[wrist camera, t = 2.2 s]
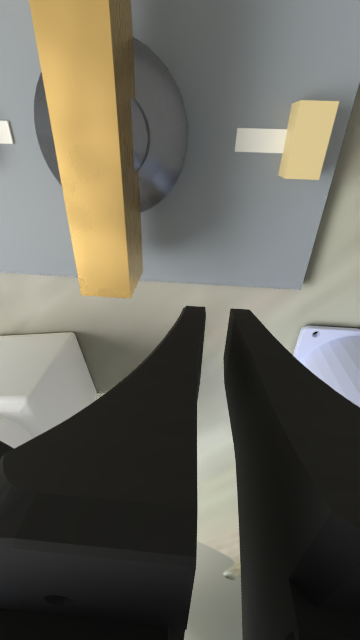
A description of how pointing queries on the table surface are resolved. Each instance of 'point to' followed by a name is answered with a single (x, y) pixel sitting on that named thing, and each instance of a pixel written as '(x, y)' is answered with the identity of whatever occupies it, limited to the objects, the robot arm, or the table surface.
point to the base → (203, 140)
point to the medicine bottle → (40, 385)
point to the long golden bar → (105, 133)
